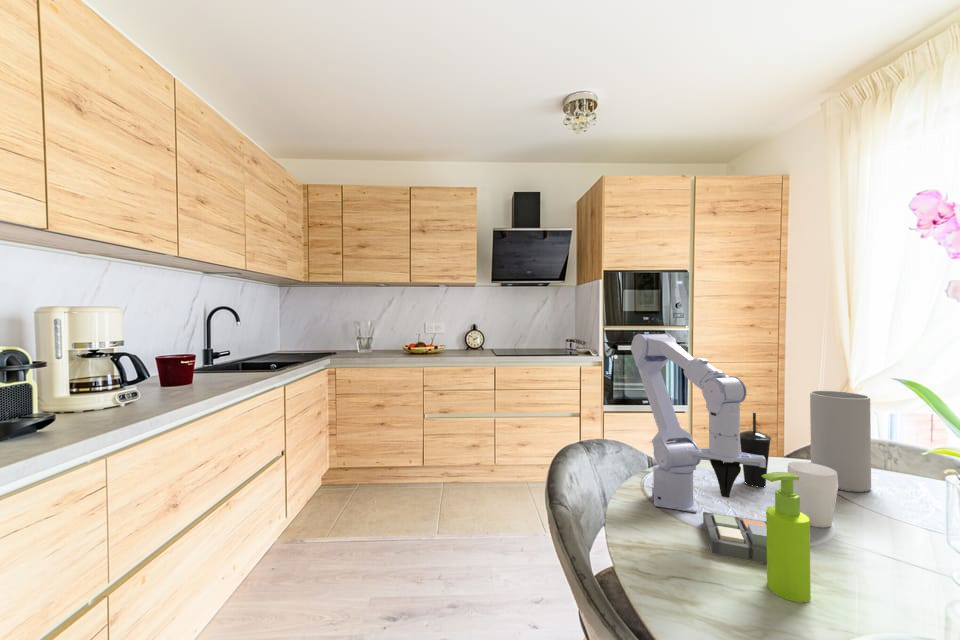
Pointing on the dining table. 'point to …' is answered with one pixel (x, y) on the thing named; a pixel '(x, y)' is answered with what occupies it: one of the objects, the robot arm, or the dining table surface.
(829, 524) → the cup
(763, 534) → the slate key
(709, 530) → the grey divided tray
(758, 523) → the terracotta key
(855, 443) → the cylinder vase
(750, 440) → the drinking cup
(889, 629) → the dining table surface
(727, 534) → the ivory key
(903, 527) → the dining table surface
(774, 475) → the soap dispenser
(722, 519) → the sage key
